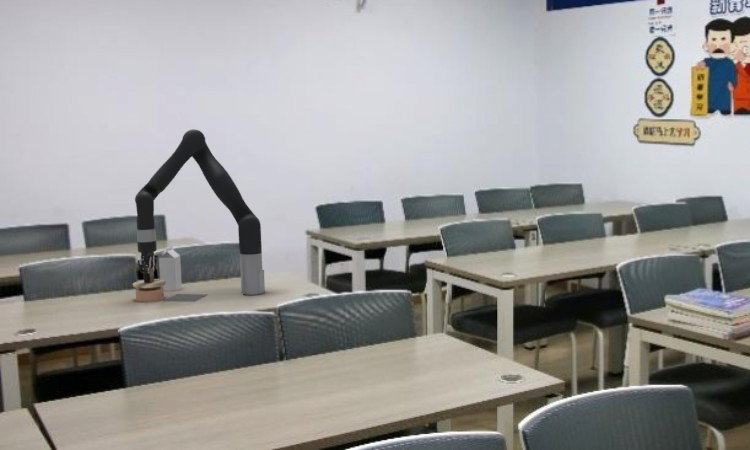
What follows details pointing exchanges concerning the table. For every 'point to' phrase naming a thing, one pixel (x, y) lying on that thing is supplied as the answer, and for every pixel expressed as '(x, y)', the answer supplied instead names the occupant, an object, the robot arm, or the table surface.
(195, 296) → the mat
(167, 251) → the milk carton
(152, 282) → the lid
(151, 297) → the bowl
